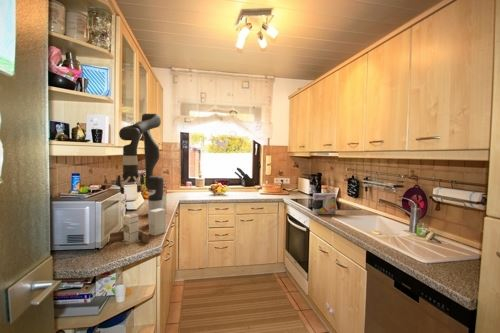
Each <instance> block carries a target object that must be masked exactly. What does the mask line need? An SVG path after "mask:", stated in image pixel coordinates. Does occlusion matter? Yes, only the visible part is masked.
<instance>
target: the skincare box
mask: <svg viewBox="0 0 500 333" xmlns="http://www.w3.org/2000/svg"><path fill="white" fill-rule="evenodd" d="M166 215H167V209H166V210H165V209H161V208H158V209H154V210H150V211H149V225H148V228H149V229H148V234H149V235H152V236H154V237H155V236H159V235H162V234H165V233H166V232H167V231H166V230H167V229H166V227H167V226H166V224H167V223H166Z"/></svg>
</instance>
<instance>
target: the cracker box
mask: <svg viewBox="0 0 500 333" xmlns="http://www.w3.org/2000/svg"><path fill="white" fill-rule="evenodd" d="M147 191H148V193H147V194H148V195H147V196H150V195H153V194H154V193H155V191H156V190H148V189H147ZM162 208H163V209H165V210H166V211H167V188H164V187H163V197H162Z"/></svg>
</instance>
